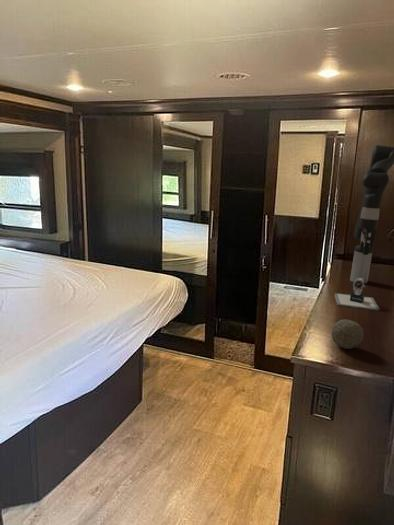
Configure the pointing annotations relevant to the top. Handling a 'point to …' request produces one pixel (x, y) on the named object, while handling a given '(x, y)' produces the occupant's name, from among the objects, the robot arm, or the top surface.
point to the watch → (358, 291)
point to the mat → (345, 301)
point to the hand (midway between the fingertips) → (363, 252)
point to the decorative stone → (347, 334)
